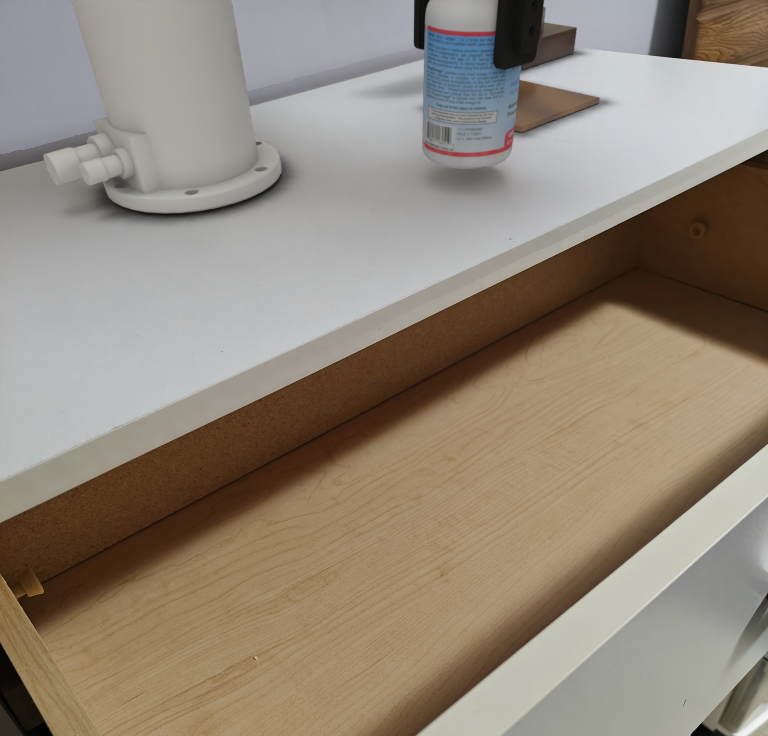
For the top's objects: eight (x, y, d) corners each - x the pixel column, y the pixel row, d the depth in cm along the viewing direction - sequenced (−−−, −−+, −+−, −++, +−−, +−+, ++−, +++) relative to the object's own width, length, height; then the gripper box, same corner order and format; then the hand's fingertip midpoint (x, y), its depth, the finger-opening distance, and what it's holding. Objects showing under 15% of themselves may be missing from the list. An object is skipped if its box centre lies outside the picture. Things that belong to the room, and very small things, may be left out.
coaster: (521, 132, 53) (521, 127, 53) (432, 108, 59) (432, 103, 59) (599, 102, 58) (600, 97, 57) (510, 82, 63) (510, 77, 63)
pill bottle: (525, 165, 45) (554, -54, 37) (438, 176, 44) (448, -48, 36) (490, 136, 49) (509, -68, 41) (410, 145, 48) (413, -62, 40)
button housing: (508, 74, 65) (512, 24, 62) (442, 60, 70) (442, 12, 67) (574, 53, 69) (580, 5, 67) (507, 41, 74) (510, -5, 71)
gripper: (314, -412, 32) (339, 42, 45) (623, -508, 23) (542, 96, 36) (429, -393, 35) (421, 24, 48) (738, -471, 26) (626, 69, 39)
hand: (473, 51), depth 42 cm, fingers closed on pill bottle, 6 cm apart
